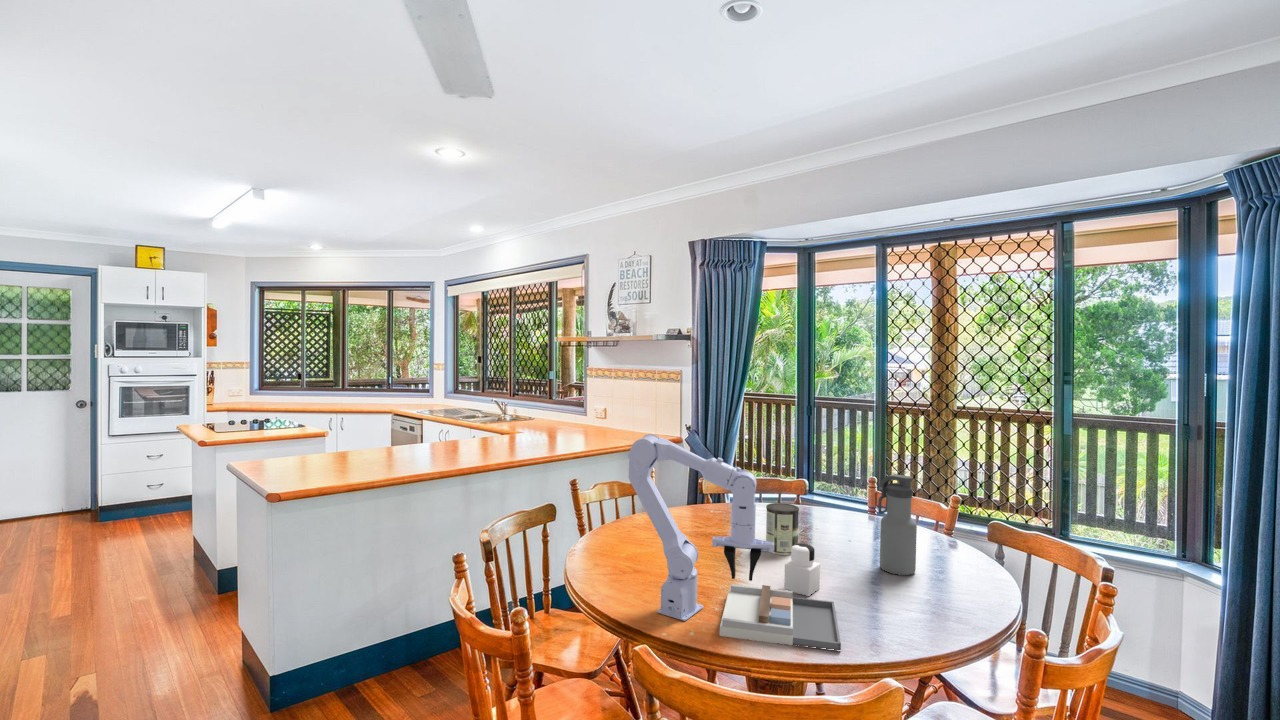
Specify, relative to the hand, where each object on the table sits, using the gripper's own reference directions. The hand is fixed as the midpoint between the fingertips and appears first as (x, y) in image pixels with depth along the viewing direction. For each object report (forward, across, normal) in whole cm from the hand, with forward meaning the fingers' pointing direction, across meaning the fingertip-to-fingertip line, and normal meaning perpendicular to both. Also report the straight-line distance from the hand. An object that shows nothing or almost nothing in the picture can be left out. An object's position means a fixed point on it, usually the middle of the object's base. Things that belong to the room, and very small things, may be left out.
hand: (742, 578), depth 144 cm
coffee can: (+10, -9, -52) cm, 54 cm away
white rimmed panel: (+9, -4, 0) cm, 10 cm away
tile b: (+7, -9, +4) cm, 12 cm away
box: (+9, -17, 0) cm, 19 cm away
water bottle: (+10, -42, -44) cm, 62 cm away
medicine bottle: (+10, -15, -21) cm, 28 cm away
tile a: (+7, -9, -4) cm, 12 cm away
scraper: (+7, -6, 0) cm, 9 cm away
